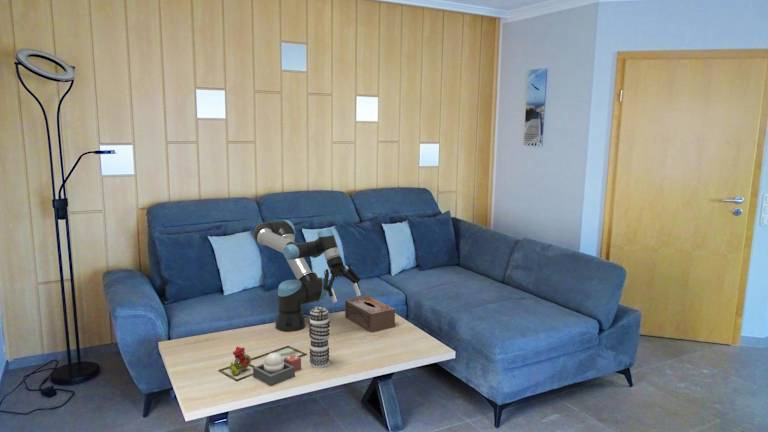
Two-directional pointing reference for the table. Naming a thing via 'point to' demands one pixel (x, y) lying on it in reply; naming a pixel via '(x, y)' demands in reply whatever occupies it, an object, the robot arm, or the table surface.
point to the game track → (283, 352)
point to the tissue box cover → (370, 314)
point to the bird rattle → (243, 358)
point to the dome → (273, 363)
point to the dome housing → (290, 367)
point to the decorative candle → (319, 337)
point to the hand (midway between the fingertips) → (347, 299)
